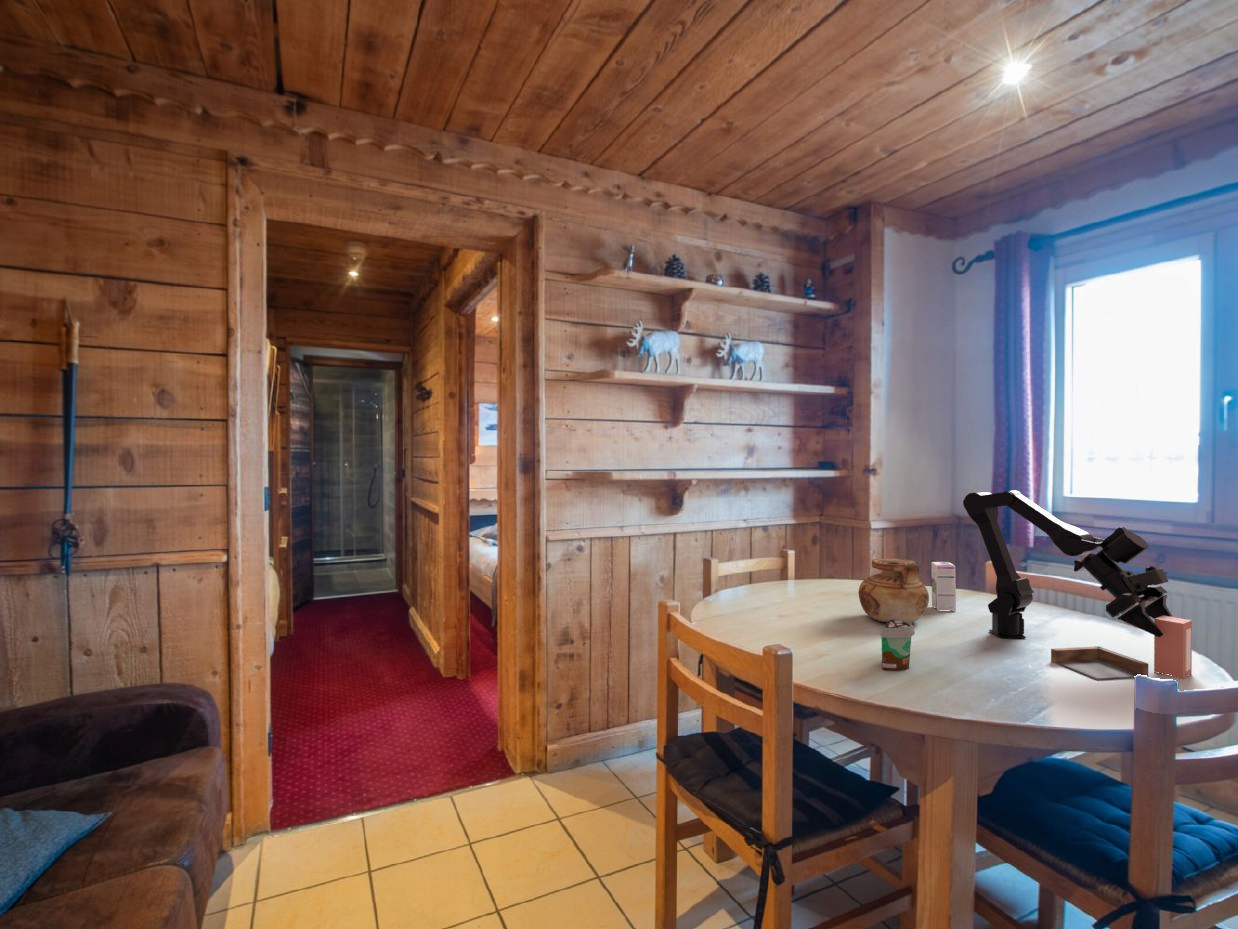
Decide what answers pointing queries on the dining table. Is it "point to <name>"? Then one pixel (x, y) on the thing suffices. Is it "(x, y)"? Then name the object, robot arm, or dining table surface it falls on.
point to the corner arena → (1098, 663)
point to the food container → (896, 644)
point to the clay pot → (894, 591)
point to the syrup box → (943, 586)
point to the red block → (1173, 646)
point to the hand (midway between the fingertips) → (1169, 632)
